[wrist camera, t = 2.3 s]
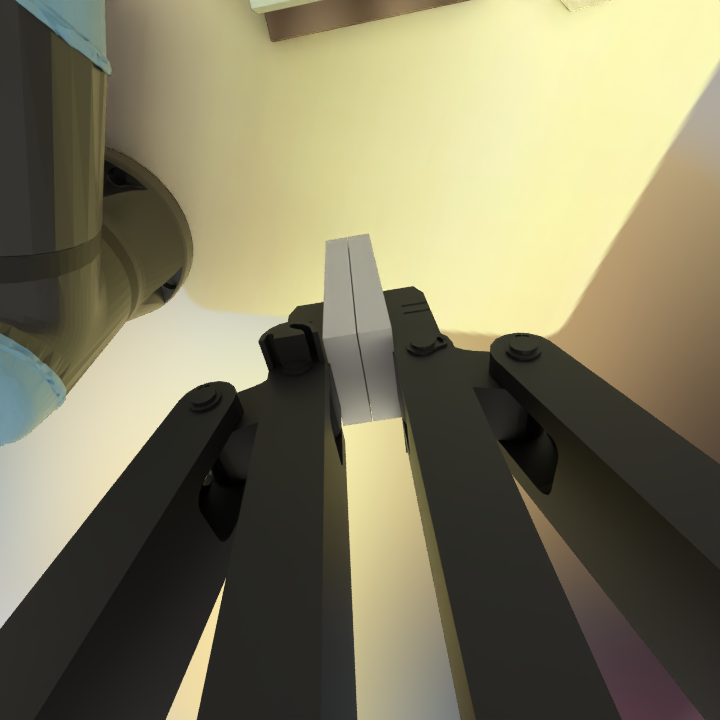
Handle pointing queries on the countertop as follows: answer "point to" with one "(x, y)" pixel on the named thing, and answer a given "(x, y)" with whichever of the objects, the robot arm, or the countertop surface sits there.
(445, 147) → the countertop surface
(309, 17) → the post
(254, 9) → the square plate with hole
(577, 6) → the jar
